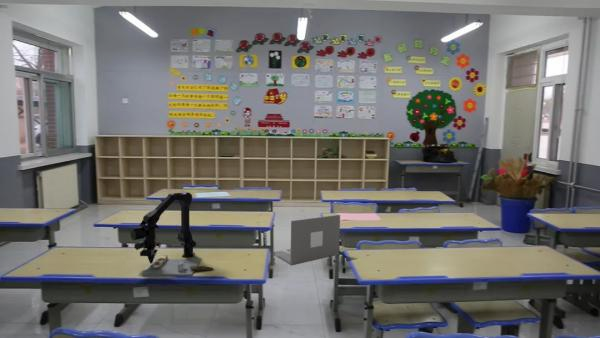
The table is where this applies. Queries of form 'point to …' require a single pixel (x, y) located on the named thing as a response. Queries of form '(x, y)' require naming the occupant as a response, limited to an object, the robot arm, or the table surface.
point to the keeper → (181, 266)
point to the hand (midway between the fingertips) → (151, 263)
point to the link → (160, 262)
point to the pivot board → (172, 268)
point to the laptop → (312, 240)
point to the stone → (200, 268)
